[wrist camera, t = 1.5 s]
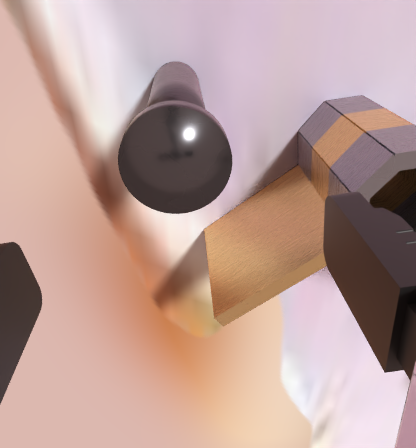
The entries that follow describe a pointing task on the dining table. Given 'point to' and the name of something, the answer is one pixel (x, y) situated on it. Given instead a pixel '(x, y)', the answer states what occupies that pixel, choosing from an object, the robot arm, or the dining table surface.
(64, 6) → the dining table surface
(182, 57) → the dining table surface
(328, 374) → the dining table surface
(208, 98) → the dining table surface
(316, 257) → the hinge
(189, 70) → the hinge pin
